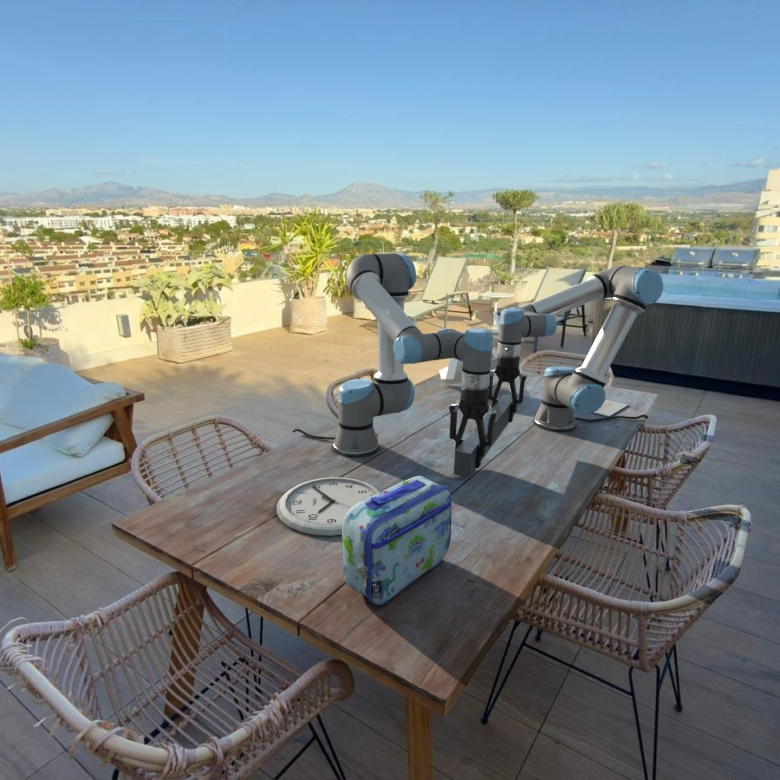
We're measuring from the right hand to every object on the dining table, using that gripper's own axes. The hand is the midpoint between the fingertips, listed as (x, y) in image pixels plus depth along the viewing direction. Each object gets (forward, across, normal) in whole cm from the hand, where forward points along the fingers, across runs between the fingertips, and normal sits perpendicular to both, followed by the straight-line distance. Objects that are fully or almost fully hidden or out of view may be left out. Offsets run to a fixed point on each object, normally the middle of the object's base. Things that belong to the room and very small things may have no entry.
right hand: (503, 419), depth 183 cm
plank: (+1, -1, -20) cm, 20 cm away
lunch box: (+8, -5, -84) cm, 84 cm away
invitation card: (+10, +31, +59) cm, 68 cm away
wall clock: (+8, -33, -63) cm, 72 cm away
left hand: (0, -2, -40) cm, 40 cm away
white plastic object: (+10, -22, +56) cm, 61 cm away
